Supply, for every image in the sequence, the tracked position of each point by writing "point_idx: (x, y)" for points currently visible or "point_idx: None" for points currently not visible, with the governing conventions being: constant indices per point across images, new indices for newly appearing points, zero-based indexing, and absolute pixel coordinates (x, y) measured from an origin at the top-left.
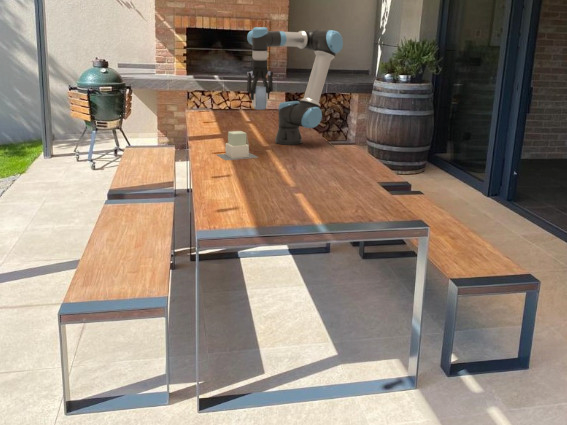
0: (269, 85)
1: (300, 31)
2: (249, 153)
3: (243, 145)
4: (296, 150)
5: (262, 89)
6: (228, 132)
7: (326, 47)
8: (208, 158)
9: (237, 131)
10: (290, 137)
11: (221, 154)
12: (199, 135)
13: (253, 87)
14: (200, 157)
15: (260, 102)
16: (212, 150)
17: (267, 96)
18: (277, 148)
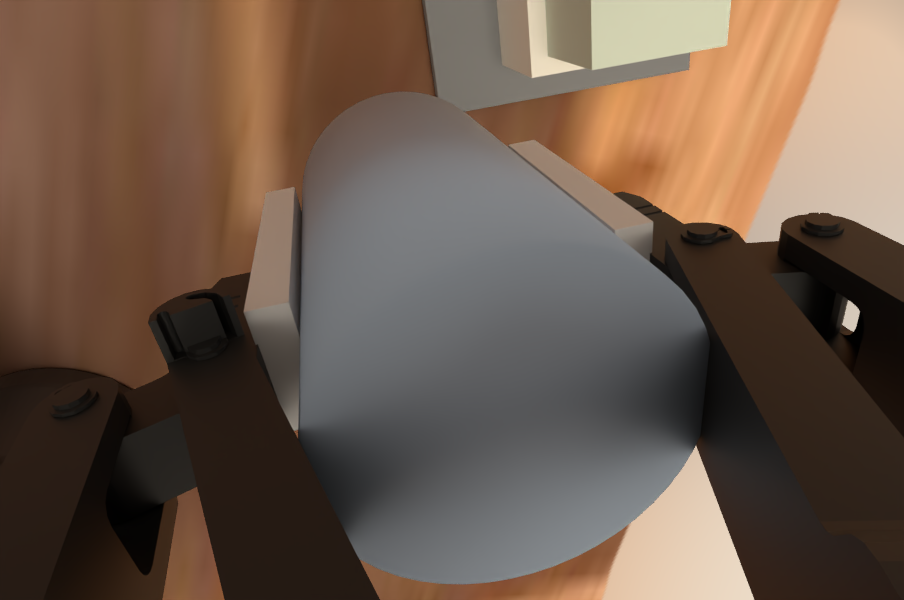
0: (120, 579)
1: None
2: (446, 54)
3: None
4: (3, 170)
5: (472, 223)
6: (725, 29)
7: None
8: (745, 16)
9: (636, 40)
10: (32, 408)
11: (651, 65)
12: (568, 594)
13: (792, 303)
14: (776, 63)
15: (447, 117)
16: None
17: (257, 267)
18: (175, 266)
